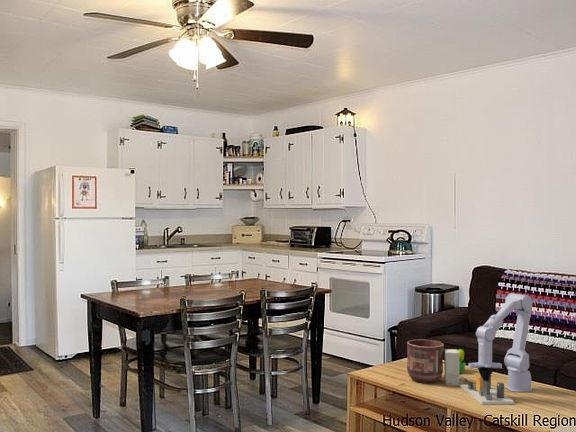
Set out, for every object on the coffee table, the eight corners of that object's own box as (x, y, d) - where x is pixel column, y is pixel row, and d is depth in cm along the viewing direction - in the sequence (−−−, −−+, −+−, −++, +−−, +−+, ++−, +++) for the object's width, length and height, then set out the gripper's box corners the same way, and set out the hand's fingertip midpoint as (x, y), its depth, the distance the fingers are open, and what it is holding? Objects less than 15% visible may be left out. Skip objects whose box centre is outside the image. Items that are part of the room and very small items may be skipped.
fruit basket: (443, 368, 285) (443, 346, 285) (459, 367, 286) (459, 346, 286) (451, 374, 273) (452, 352, 273) (468, 374, 274) (468, 351, 274)
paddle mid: (479, 390, 242) (479, 375, 243) (483, 393, 238) (483, 378, 238) (476, 390, 242) (476, 375, 242) (479, 393, 238) (480, 378, 238)
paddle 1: (473, 384, 249) (461, 375, 249) (476, 386, 245) (465, 378, 245) (471, 386, 249) (460, 378, 249) (475, 389, 245) (463, 381, 245)
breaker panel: (489, 386, 253) (489, 371, 253) (514, 404, 229) (514, 387, 229) (460, 387, 252) (460, 371, 252) (482, 404, 228) (482, 387, 228)
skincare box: (459, 386, 253) (460, 353, 253) (445, 385, 254) (445, 352, 255) (457, 381, 261) (458, 349, 261) (443, 380, 263) (443, 348, 263)
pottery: (445, 386, 253) (446, 347, 253) (407, 383, 256) (407, 345, 256) (441, 376, 270) (441, 340, 271) (405, 374, 273) (406, 338, 274)
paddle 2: (485, 395, 235) (485, 380, 236) (489, 398, 231) (490, 383, 231) (482, 395, 235) (482, 380, 235) (486, 398, 231) (486, 383, 231)
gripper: (473, 356, 236) (472, 387, 236) (505, 355, 237) (504, 386, 237) (466, 352, 243) (466, 382, 243) (498, 352, 244) (497, 382, 244)
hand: (485, 384), depth 240 cm, fingers closed
